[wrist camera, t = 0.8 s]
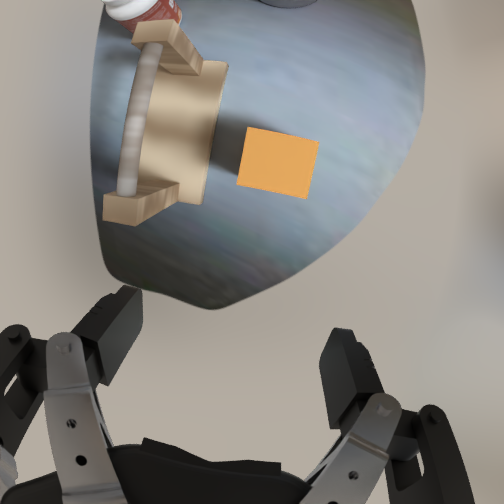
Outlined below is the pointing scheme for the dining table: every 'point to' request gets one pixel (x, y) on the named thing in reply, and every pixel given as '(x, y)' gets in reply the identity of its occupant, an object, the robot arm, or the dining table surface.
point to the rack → (166, 125)
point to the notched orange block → (277, 162)
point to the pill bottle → (142, 11)
